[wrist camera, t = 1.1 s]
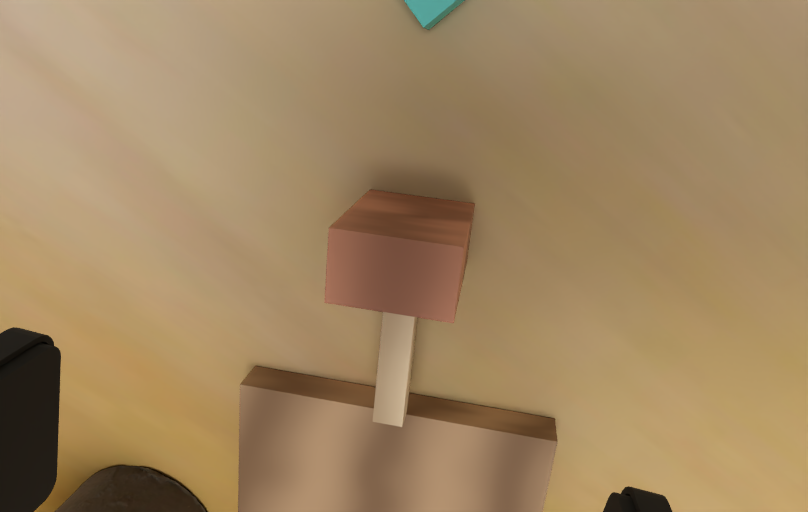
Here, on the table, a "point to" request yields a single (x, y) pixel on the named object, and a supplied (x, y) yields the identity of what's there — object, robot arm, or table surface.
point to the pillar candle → (130, 493)
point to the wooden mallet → (398, 277)
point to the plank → (384, 451)
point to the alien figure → (431, 10)
